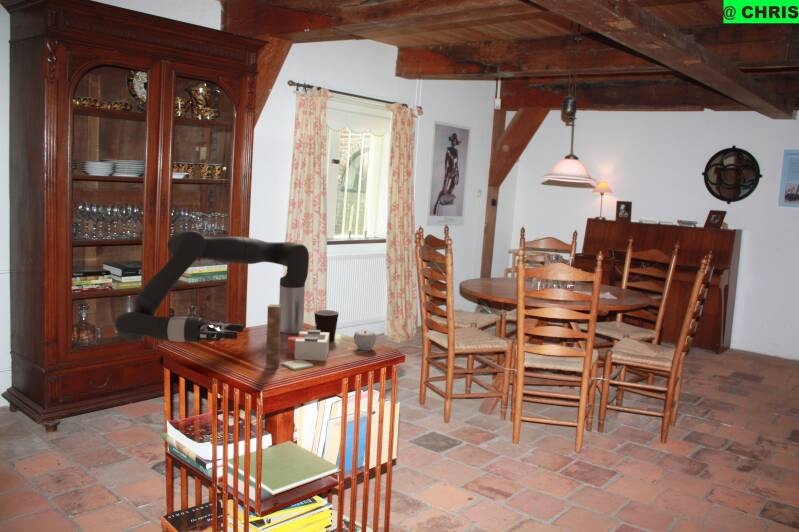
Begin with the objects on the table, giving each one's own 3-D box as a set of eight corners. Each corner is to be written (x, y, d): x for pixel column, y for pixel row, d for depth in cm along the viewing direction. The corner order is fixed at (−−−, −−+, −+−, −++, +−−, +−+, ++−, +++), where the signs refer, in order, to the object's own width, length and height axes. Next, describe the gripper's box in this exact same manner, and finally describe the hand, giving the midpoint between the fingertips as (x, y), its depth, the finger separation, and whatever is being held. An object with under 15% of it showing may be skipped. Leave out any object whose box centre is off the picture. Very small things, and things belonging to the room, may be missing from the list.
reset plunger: (287, 349, 213) (287, 339, 212) (288, 347, 216) (289, 336, 216) (305, 350, 213) (306, 340, 212) (306, 347, 216) (307, 337, 216)
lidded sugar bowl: (377, 347, 228) (378, 329, 227) (373, 353, 220) (374, 334, 219) (355, 345, 229) (356, 327, 228) (350, 351, 221) (351, 332, 220)
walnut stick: (265, 368, 197) (267, 306, 195) (267, 364, 201) (269, 304, 198) (277, 368, 198) (279, 307, 195) (279, 365, 201) (281, 305, 198)
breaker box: (294, 359, 208) (295, 338, 207) (299, 348, 221) (299, 328, 220) (325, 360, 209) (326, 340, 208) (328, 349, 222) (329, 330, 221)
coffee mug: (333, 343, 229) (334, 316, 228) (310, 341, 231) (311, 313, 230) (342, 336, 241) (343, 309, 239) (320, 333, 242) (321, 307, 241)
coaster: (281, 364, 202) (281, 362, 202) (300, 361, 207) (300, 359, 206) (294, 370, 197) (294, 368, 197) (313, 366, 201) (313, 364, 201)
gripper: (179, 322, 189) (235, 325, 190) (192, 312, 203) (245, 314, 204) (179, 347, 190) (234, 350, 191) (192, 335, 204) (244, 337, 205)
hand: (240, 331), depth 197 cm, fingers open, 8 cm apart
